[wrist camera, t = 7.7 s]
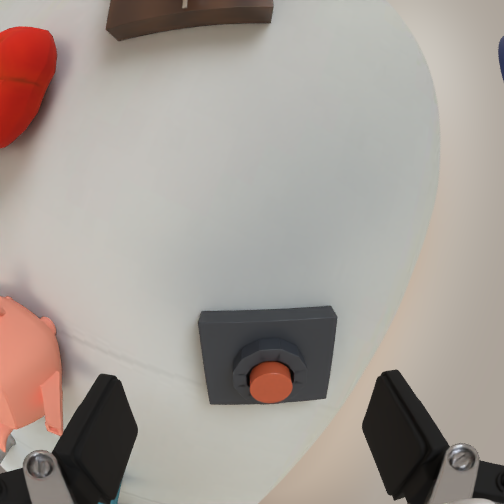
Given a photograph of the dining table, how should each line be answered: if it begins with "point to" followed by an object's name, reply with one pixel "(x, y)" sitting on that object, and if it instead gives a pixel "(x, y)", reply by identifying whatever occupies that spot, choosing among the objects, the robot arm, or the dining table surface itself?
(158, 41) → the dining table surface
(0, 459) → the glass holder
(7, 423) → the teapot
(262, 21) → the plate
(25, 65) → the tomato
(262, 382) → the round orange push button
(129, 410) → the robot arm
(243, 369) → the button box
